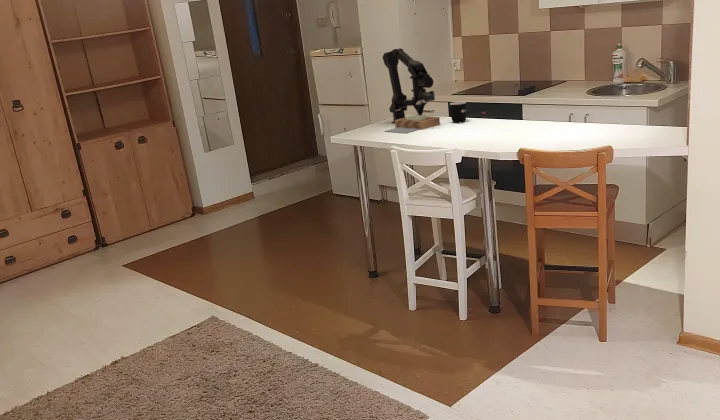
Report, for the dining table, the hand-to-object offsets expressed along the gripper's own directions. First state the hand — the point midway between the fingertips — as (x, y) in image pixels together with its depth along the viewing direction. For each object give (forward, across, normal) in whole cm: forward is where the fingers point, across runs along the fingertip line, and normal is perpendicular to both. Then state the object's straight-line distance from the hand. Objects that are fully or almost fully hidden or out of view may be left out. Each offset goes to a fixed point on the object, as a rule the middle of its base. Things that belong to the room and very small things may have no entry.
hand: (420, 116), depth 357 cm
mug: (+5, +16, -14) cm, 22 cm away
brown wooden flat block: (+5, -2, +1) cm, 6 cm away
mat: (+5, -14, 0) cm, 15 cm away
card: (+1, -4, 0) cm, 4 cm away
